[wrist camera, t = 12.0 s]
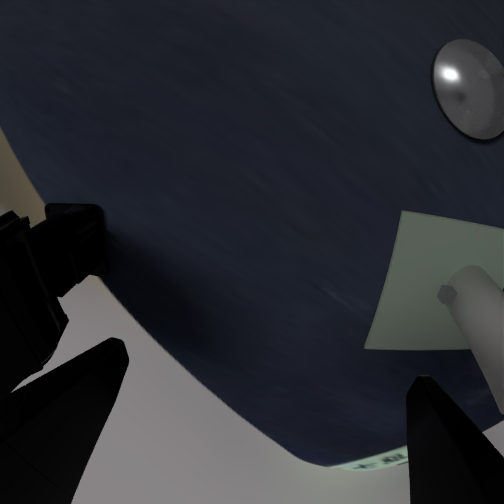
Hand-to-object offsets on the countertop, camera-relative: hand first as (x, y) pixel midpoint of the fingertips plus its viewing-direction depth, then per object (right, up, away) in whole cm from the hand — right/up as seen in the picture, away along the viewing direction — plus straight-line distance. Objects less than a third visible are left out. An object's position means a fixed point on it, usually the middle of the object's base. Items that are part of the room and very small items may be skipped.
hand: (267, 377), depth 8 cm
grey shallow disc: (+14, +14, +5) cm, 21 cm away
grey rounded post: (+17, +1, +11) cm, 20 cm away
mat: (+15, 0, +12) cm, 19 cm away
